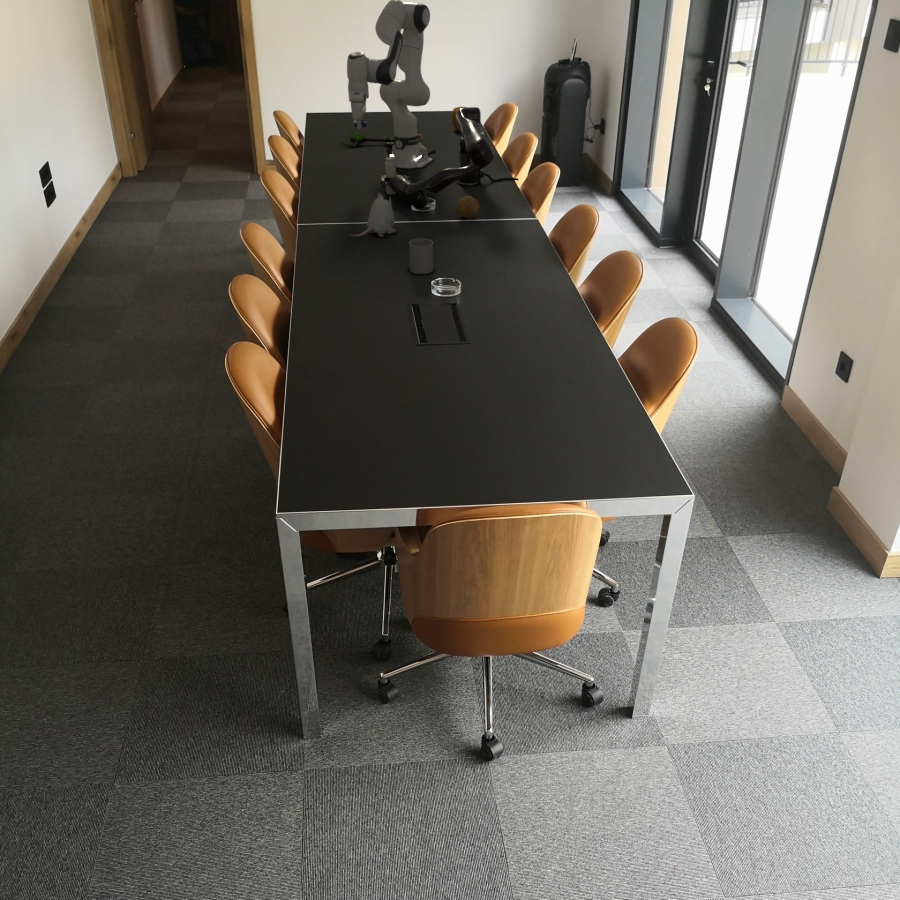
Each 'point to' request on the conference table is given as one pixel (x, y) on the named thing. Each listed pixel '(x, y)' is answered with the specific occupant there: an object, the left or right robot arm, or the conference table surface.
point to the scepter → (363, 139)
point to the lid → (361, 123)
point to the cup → (421, 256)
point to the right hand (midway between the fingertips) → (388, 176)
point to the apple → (455, 118)
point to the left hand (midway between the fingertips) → (360, 126)
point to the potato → (467, 207)
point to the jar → (390, 172)
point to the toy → (380, 217)
